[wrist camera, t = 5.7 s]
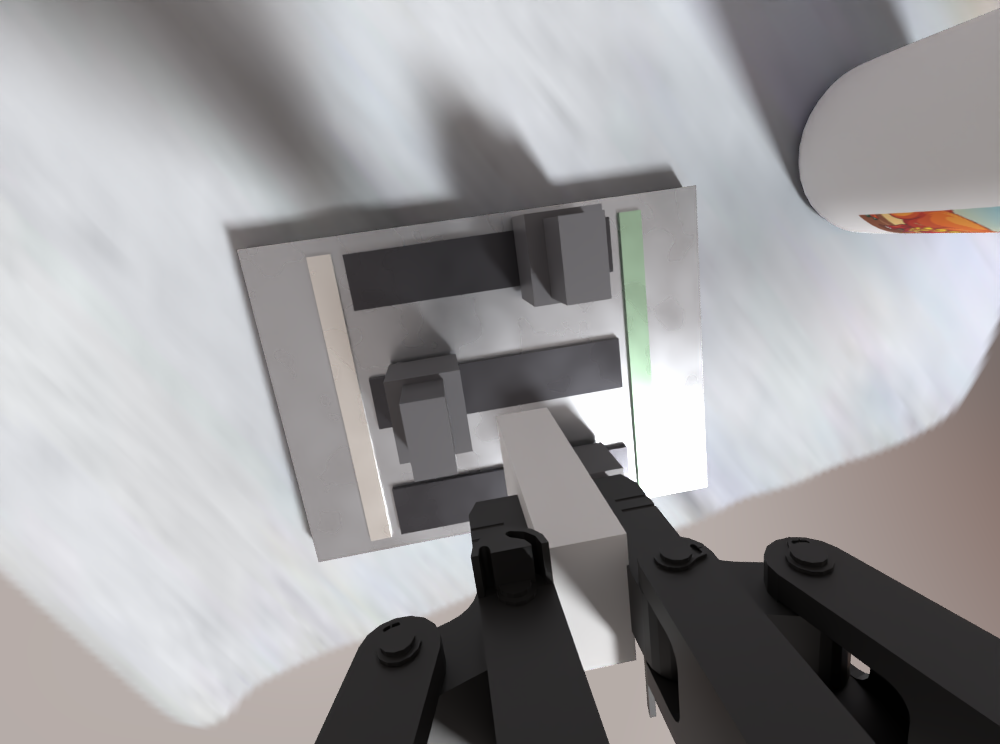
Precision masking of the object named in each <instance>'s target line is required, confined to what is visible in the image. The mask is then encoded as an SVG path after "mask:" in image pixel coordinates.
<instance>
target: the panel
mask: <svg viewBox="0 0 1000 744" xmlns="http://www.w3.org/2000/svg"><path fill="white" fill-rule="evenodd" d="M600 203H602V210H605V222H606V234H607V246H608V259H609V271H610V283H611V296H612V299H606V300H600V301H594V302H587V303H581V304H575V305H568V306H567V305H565V304H563V303H558V304H551V305H545V306H539V307H534V306H533V305H531V304H530V303H528V302H527V301H525V300H524V299H522V295H521V287H520V279H519V271H518V263H517V255H516V247H515V239H514V231H513V223H512V217H514V216H519V215H523V214H529V213H536V212H543V211H551V210H558V209H565V208H572V207H579V206H586V205H593V204H600ZM237 252H238V256H239V260H240V264H241V268H242V271H243V275H244V279H245V283H246V287H247V291H248V294H249V298H250V302H251V306H252V310H253V313H254V317H255V321H256V325H257V329H258V332H259V336H260V340H261V344H262V348H263V352H264V355H265V359H266V363H267V367H268V371H269V374H270V378H271V382H272V386H273V390H274V393H275V397H276V401H277V405H278V409H279V413H280V416H281V420H282V424H283V428H284V432H285V435H286V439H287V443H288V447H289V451H290V454H291V458H292V462H293V466H294V470H295V474H296V477H297V481H298V485H299V489H300V493H301V496H302V500H303V504H304V508H305V512H306V515H307V519H308V523H309V527H310V531H311V535H312V538H313V542H314V546H315V550H316V554H317V557H318V561H319V562H322V561H327V560H332V559H337V558H342V557H347V556H353V555H358V554H363V553H368V552H373V551H378V550H384V549H389V548H394V547H399V546H404V545H409V544H414V543H420V542H425V541H430V540H435V539H440V538H445V537H450V536H456V535H461V534H466V533H471V529H470V522H469V514H470V512H471V510H472V508H473V507H474V505H475V503H476V502H479V501H485V500H490V499H496V498H501V497H506V496H508V494H507V487H506V480H505V473H504V467H503V460H502V453H501V446H500V439H499V432H498V426H497V419H496V416H499V415H505V414H511V413H517V412H522V411H528V410H534V409H540V408H546V407H547V408H548V410H549V411H550V413H551V415H552V416H553V418H554V419H555V421H556V423H557V424H558V426H559V427H560V429H561V430H562V432H563V434H564V435H565V437H566V438H567V440H568V442H569V443H570V445H571V446H572V447H577V446H582V445H588V444H593V443H599V442H602V443H603V444H604V445H605V447H606V448H607V449H608V450H609V451H610V453H611V454H612V455H613V456H614V457H615V458H616V460H617V461H618V462H619V463H620V464H621V466H622V467H623V470H624V476H626V477H628V478H630V479H632V480H633V481H635V482H637V483H638V484H639V486H640V487H641V488H642V489H643V491H644V492H645V493H646V495H647V496H648V497H649V498H651V497H656V496H662V495H667V494H672V493H677V492H682V491H687V490H693V489H698V488H703V487H707V471H706V444H705V417H704V390H703V363H702V336H701V309H700V282H699V255H698V228H697V200H696V185H695V186H688V187H681V188H674V189H667V190H660V191H652V192H645V193H638V194H631V195H624V196H617V197H609V198H602V199H595V200H588V201H581V202H574V203H567V204H559V205H552V206H545V207H538V208H531V209H524V210H517V211H509V212H502V213H495V214H488V215H481V216H474V217H467V218H459V219H452V220H445V221H438V222H431V223H424V224H416V225H409V226H402V227H395V228H388V229H381V230H374V231H366V232H359V233H352V234H345V235H338V236H331V237H324V238H316V239H309V240H302V241H295V242H288V243H281V244H274V245H266V246H259V247H252V248H245V249H238V250H237ZM451 354H456V357H457V361H458V365H459V370H460V376H461V382H462V388H463V394H464V400H465V406H466V412H467V418H468V425H469V431H470V437H471V443H472V449H473V451H472V452H466V453H461V454H456V460H457V469H458V474H456V475H450V476H445V477H439V478H434V479H428V480H423V481H418V482H414V477H413V472H412V467H411V463H405V464H400V462H399V457H398V452H397V447H396V442H395V437H394V433H393V428H392V423H391V418H390V413H389V408H388V403H387V398H386V393H385V388H384V384H383V382H384V379H385V376H386V372H387V369H388V366H389V365H390V364H396V363H402V362H409V361H415V360H421V359H427V358H433V357H439V356H445V355H451Z"/></svg>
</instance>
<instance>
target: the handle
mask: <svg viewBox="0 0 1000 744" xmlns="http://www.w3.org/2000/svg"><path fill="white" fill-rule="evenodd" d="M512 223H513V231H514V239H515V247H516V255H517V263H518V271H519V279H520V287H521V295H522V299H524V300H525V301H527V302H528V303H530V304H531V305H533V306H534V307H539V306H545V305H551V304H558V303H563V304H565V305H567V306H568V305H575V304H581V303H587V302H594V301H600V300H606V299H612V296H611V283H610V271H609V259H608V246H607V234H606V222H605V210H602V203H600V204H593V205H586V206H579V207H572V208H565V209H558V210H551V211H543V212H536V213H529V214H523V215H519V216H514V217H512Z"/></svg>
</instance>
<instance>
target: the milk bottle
mask: <svg viewBox="0 0 1000 744" xmlns="http://www.w3.org/2000/svg"><path fill="white" fill-rule="evenodd" d="M798 165H799V173H800V180H801V183H802V186H803V190H804V193H805V195H806V197H807V198H808V200H809V202H810V204H811V206H812V207H813V208H814V209H815V210H816V211H817V212H818V213H819V215H820V216H822V217H823V218H825V219H826V220H827V221H828V222H830V223H831V224H833V225H835V226H836V227H839V228H841V229H844V230H847V231H851V232H858V233H986V232H1000V8H999V9H996V10H994V11H991V12H989V13H986V14H984V15H981V16H979V17H976V18H973V19H971V20H968V21H966V22H963V23H961V24H958V25H956V26H953V27H951V28H948V29H946V30H943V31H941V32H938V33H936V34H933V35H931V36H928V37H926V38H923V39H921V40H918V41H916V42H913V43H911V44H909V45H906V46H904V47H901V48H899V49H896V50H894V51H891V52H889V53H886V54H884V55H881V56H879V57H877V58H874V59H872V60H870V61H868V62H865V63H863V64H861V65H859V66H857V67H855V68H853V69H851V70H850V71H848V72H847V73H845V74H844V75H843V76H841V77H840V78H839V79H838V80H837V81H835V82H834V83H833V84H832V85H831V86H830V88H829V89H828V90H827V91H826V92H825V93H824V95H823V96H822V97H821V98H820V99H819V101H818V102H817V104H816V106H815V107H814V109H813V111H812V112H811V114H810V115H809V118H808V120H807V123H806V125H805V128H804V130H803V133H802V138H801V143H800V147H799V161H798Z"/></svg>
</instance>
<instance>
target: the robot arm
mask: <svg viewBox="0 0 1000 744" xmlns="http://www.w3.org/2000/svg"><path fill="white" fill-rule="evenodd" d="M496 419H497V426H498V432H499V439H500V446H501V453H502V460H503V467H504V473H505V480H506V487H507V494H508V496H506V497H501V498H496V499H490V500H485V501H479V502H476V503H475V505H474V507H473V508H472V510H471V512H470V514H469V522H470V529H471V537H472V545H473V549H472V554H471V561H472V566H473V572H474V578H475V584H476V589H477V594H476V597H475V599H474V601H473V603H472V604H471V605H470V607H469V608H468V609H467V610H466V611H465V612H464V613H462V614H461V615H460V616H459V617H457V618H455V619H453V620H452V621H450V622H448V623H446V624H444V625H442V626H439V627H436V625H435V624H434V623H432V622H431V621H429V620H427V619H426V618H423V617H415V616H407V617H401V618H395V619H393V620H391V621H388V622H386V623H384V624H382V625H380V626H379V627H377V628H376V629H375V630H374V631H372V632H371V633H370V634H369V635H367V637H366V638H365V639H364V641H363V642H362V644H361V645H360V647H359V648H358V650H357V653H356V655H355V657H354V659H353V661H352V664H351V666H350V668H349V670H348V672H347V674H346V677H345V679H344V681H343V683H342V685H341V688H340V690H339V692H338V694H337V696H336V698H335V700H334V703H333V705H332V707H331V709H330V711H329V713H328V716H327V718H326V720H325V722H324V724H323V727H322V729H321V731H320V733H319V735H318V737H317V740H316V742H315V744H609V741H608V739H607V736H606V733H605V730H604V727H603V724H602V721H601V718H600V715H599V713H598V710H597V707H596V704H595V701H594V698H593V695H592V692H591V689H590V687H589V684H588V681H587V678H586V675H585V672H584V671H586V670H592V669H596V668H601V667H606V666H610V665H615V664H619V663H624V662H629V661H634V660H636V650H635V638H636V641H637V643H638V645H639V647H640V649H641V651H642V653H643V655H644V663H645V677H646V691H647V704H648V709H649V715H650V717H654V716H656V706H655V701H656V702H657V705H658V707H659V709H660V711H661V713H662V715H663V718H664V720H665V722H666V724H667V726H668V728H669V730H670V733H671V735H672V737H673V739H674V741H675V743H676V744H1000V639H999V638H998V637H996V636H994V635H992V634H990V633H989V632H987V631H985V630H983V629H981V628H980V627H978V626H976V625H974V624H973V623H971V622H969V621H967V620H965V619H963V618H962V617H960V616H958V615H957V614H955V613H953V612H951V611H949V610H947V609H946V608H944V607H942V606H940V605H939V604H937V603H935V602H933V601H931V600H930V599H928V598H926V597H924V596H923V595H921V594H919V593H917V592H916V591H914V590H912V589H910V588H908V587H906V586H905V585H903V584H901V583H899V582H898V581H896V580H894V579H892V578H890V577H889V576H887V575H885V574H883V573H882V572H880V571H878V570H876V569H874V568H873V567H871V566H869V565H867V564H865V563H864V562H862V561H860V560H858V559H857V558H855V557H853V556H851V555H850V554H848V553H846V552H844V551H842V550H840V549H839V548H837V547H835V546H832V545H830V544H827V543H825V542H823V541H819V540H814V539H809V538H801V537H788V538H784V539H779V540H776V541H774V542H773V543H771V544H770V545H768V546H767V548H766V551H765V554H764V563H763V562H731V561H722V560H719V559H718V558H717V557H716V556H715V555H714V553H713V552H712V551H711V550H709V549H708V548H707V547H706V546H704V545H703V544H702V543H700V542H697V541H695V540H692V539H690V538H684V537H680V536H679V534H678V533H677V532H676V531H675V529H674V528H673V527H672V526H671V524H670V523H669V522H668V521H667V519H666V518H665V517H664V516H663V514H662V513H661V512H660V511H659V509H658V508H657V507H656V506H654V503H653V502H652V501H651V499H650V498H649V497H648V496H647V495H646V493H645V492H644V491H643V489H642V488H641V487H640V486H639V484H638V483H637V482H635V481H633V480H632V479H630V478H628V477H626V476H624V475H622V474H617V475H611V476H606V477H601V478H595V479H592V478H591V476H590V475H589V473H588V472H587V470H586V468H585V467H584V465H583V464H582V462H581V460H580V459H579V457H578V456H577V454H576V453H575V451H574V449H573V448H572V446H571V445H570V443H569V442H568V440H567V438H566V437H565V435H564V434H563V432H562V430H561V429H560V427H559V426H558V424H557V423H556V421H555V419H554V418H553V416H552V415H551V413H550V411H549V410H548V408H547V407H546V408H540V409H534V410H528V411H522V412H517V413H511V414H505V415H499V416H496ZM851 654H852V655H853V656H855V657H856V658H857V659H859V660H860V661H862V662H863V663H864V664H866V665H867V666H868V667H870V674H867V673H864V672H862V671H861V670H859V669H857V668H856V667H855V666H853V665H852V664H851V663H850V661H851Z"/></svg>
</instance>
